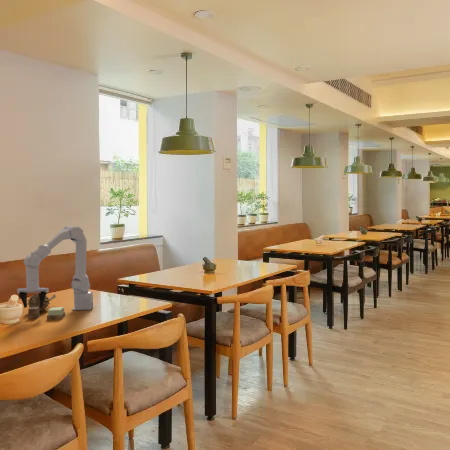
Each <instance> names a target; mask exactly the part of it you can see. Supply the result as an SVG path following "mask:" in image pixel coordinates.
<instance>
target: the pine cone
mask: <svg viewBox="0 0 450 450" xmlns="http://www.w3.org/2000/svg"><path fill="white" fill-rule="evenodd" d="M39 293H40V292H36V293H32V295H31V296H29V297H28V298H29V299H28V298H27V306H28V308H30V307H39V312H42V311H44V310H46V309H48V307H49V306H50V301H53V300H54V299H56V298H57V294H52V296H50V297H49V296H47V295H46V296H45V299H44V303H43V307H40V297H39Z"/></svg>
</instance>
